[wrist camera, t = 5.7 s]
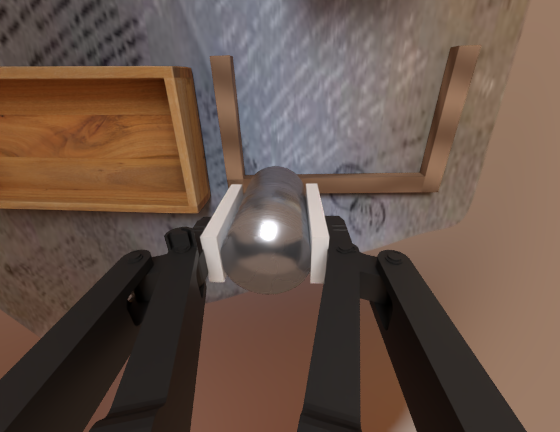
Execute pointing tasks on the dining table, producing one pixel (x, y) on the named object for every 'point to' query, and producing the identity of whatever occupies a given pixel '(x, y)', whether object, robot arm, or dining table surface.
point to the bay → (425, 181)
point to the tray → (101, 139)
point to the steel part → (269, 234)
